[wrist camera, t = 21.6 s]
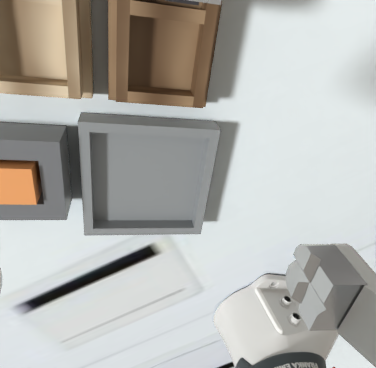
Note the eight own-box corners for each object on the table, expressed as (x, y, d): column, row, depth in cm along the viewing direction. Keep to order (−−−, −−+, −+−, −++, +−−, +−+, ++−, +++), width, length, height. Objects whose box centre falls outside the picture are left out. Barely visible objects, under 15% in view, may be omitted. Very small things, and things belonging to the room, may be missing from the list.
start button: (38, 154, 31) (31, 169, 29) (43, 188, 33) (36, 204, 31) (-6, 152, 30) (-18, 167, 28) (1, 187, 32) (-9, 204, 30)
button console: (66, 125, 32) (59, 142, 29) (72, 198, 37) (66, 219, 33) (-33, 120, 30) (-53, 137, 27) (-14, 197, 35) (-29, 220, 31)
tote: (215, 121, 34) (220, 130, 32) (196, 221, 42) (200, 233, 39) (81, 112, 31) (77, 121, 29) (86, 221, 39) (84, 235, 37)
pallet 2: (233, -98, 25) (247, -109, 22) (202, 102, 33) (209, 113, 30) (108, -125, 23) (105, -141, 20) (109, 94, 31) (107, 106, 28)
